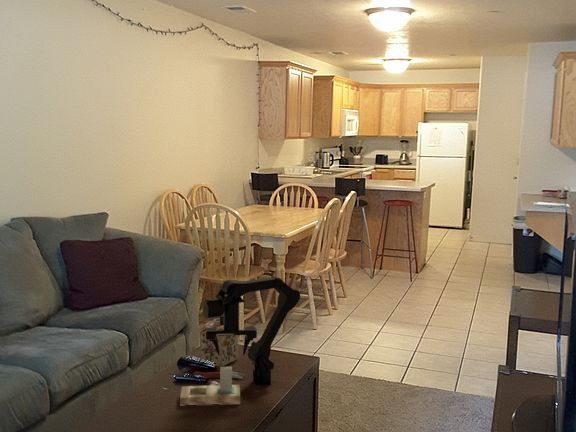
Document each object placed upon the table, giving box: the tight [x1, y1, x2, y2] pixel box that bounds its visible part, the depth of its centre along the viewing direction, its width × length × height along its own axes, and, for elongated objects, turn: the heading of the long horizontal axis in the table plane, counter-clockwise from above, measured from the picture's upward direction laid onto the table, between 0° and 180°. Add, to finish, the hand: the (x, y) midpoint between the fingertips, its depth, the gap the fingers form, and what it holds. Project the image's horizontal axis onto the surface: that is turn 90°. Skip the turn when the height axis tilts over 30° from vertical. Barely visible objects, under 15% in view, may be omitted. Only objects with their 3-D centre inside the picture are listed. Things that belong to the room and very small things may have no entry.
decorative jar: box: [199, 317, 239, 367], centre depth 258 cm, size 12×12×18 cm
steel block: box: [219, 366, 233, 393], centre depth 221 cm, size 4×4×8 cm
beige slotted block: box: [179, 384, 241, 407], centre depth 221 cm, size 21×10×3 cm, turn 96°
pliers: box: [193, 365, 247, 380], centre depth 243 cm, size 12×20×3 cm, turn 72°
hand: (231, 355), depth 229 cm, fingers open, 9 cm apart
